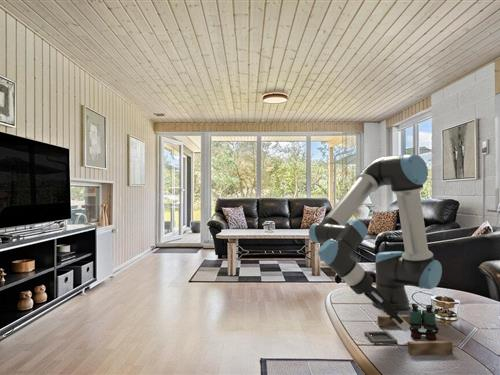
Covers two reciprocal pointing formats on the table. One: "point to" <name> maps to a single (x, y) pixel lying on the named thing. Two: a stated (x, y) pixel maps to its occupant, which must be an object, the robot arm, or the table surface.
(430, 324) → the binoculars
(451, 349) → the channel
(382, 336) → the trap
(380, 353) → the table surface
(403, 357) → the table surface
